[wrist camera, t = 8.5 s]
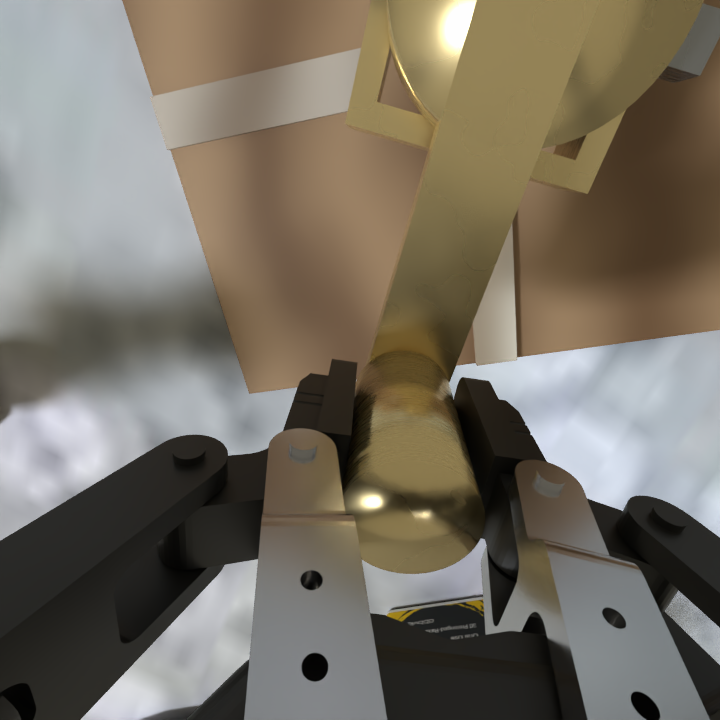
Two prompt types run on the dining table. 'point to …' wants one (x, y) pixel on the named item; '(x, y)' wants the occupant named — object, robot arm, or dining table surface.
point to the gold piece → (478, 216)
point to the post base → (410, 197)
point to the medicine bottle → (446, 618)
